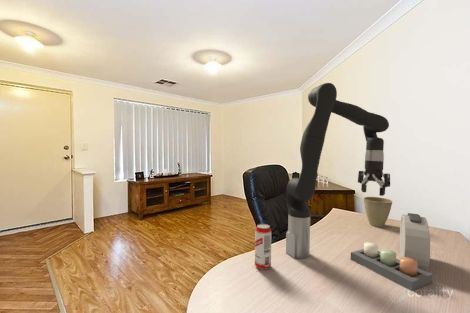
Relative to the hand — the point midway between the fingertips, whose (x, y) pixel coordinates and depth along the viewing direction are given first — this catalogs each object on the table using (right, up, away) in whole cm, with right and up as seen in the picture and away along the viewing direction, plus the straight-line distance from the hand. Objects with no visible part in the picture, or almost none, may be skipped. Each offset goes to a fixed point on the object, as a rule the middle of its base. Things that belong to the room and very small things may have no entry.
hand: (372, 193), depth 108 cm
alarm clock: (+8, -26, -14) cm, 31 cm away
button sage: (-7, -23, -21) cm, 32 cm away
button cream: (-10, -23, -15) cm, 29 cm away
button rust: (-4, -24, -27) cm, 36 cm away
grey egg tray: (-7, -26, -21) cm, 34 cm away
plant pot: (+21, -25, +31) cm, 45 cm away
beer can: (-55, -25, -19) cm, 63 cm away
